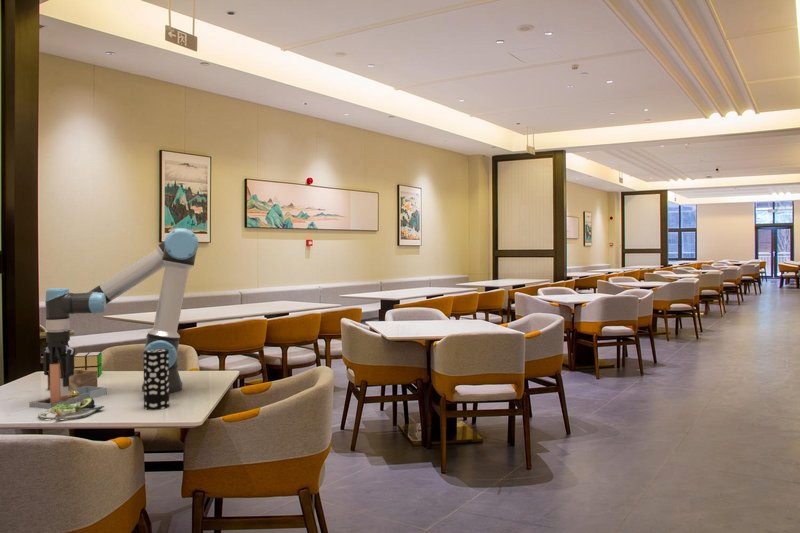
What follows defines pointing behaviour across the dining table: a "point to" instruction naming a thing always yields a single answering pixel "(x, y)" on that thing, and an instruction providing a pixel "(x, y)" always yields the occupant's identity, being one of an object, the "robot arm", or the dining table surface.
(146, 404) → the spotted tube
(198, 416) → the dining table surface
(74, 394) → the ball
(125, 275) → the robot arm
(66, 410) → the salad plate
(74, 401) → the shallow gray open box
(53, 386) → the post
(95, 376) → the brown wooden block
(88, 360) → the puzzle cube
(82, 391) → the tray
